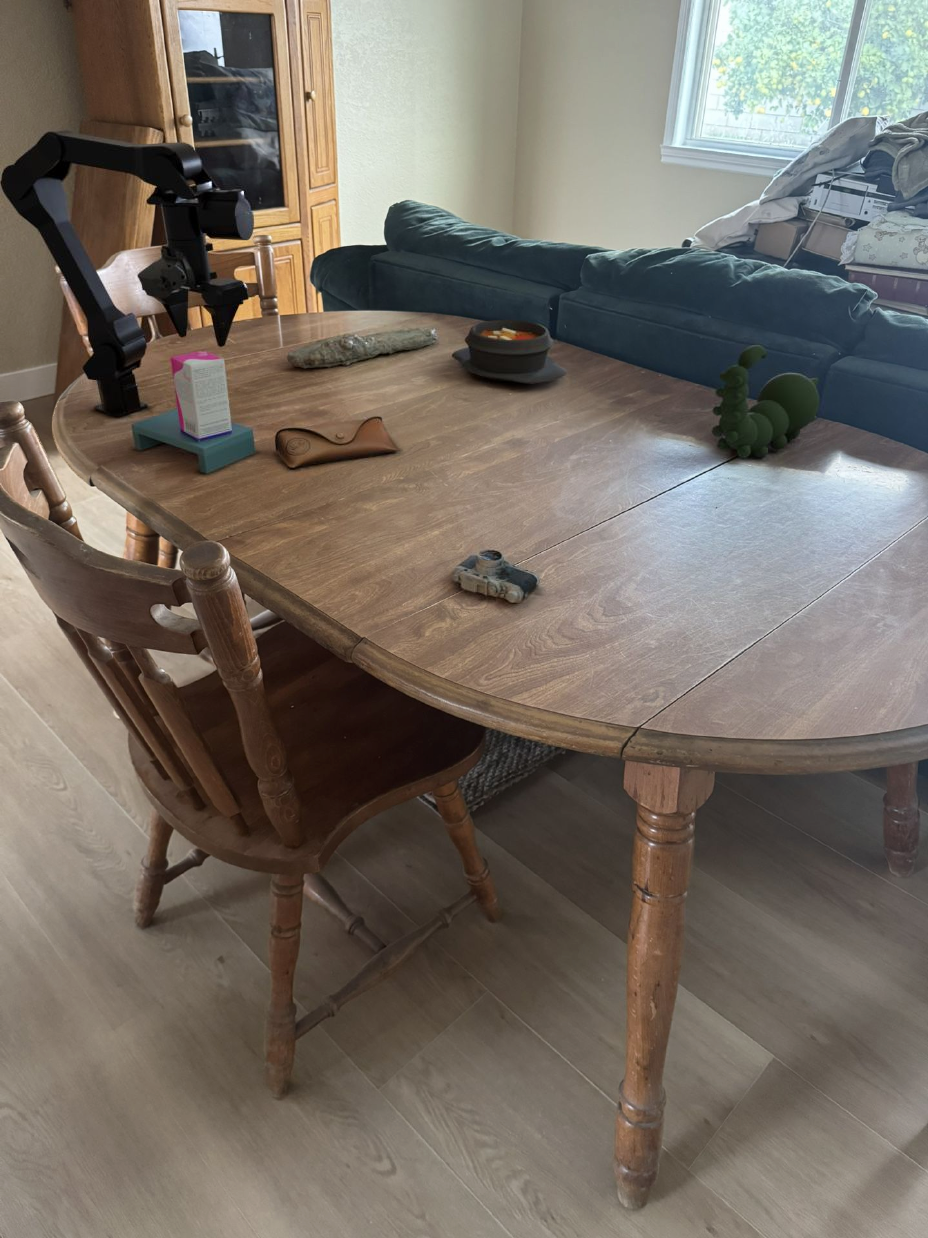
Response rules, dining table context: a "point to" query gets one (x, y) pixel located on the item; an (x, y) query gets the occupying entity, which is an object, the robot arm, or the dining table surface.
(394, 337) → the elongated rock
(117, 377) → the robot arm
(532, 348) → the casserole
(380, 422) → the sunglasses case
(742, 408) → the toy figurine
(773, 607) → the dining table surface
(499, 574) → the camera
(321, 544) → the dining table surface
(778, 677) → the dining table surface
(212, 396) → the supplement box
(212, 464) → the shelf
